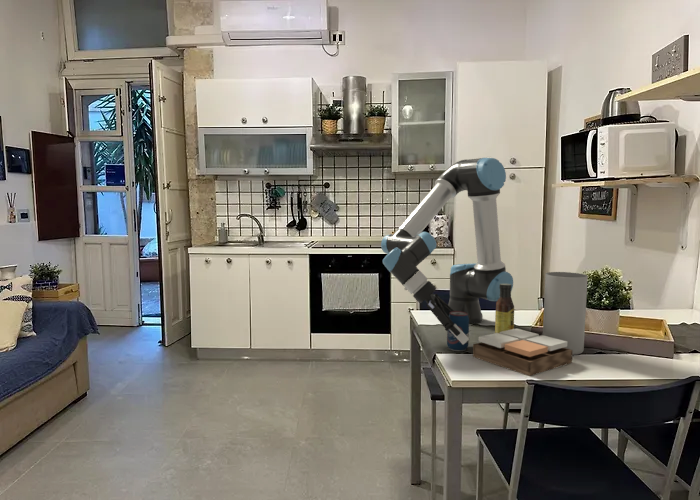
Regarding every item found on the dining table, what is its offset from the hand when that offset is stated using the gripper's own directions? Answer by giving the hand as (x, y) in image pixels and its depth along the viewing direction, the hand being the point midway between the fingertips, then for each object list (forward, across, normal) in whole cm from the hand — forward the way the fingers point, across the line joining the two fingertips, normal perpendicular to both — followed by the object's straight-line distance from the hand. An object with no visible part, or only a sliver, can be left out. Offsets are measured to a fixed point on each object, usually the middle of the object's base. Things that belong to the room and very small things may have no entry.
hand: (466, 337), depth 163 cm
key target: (+12, +13, +13) cm, 22 cm away
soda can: (+1, 0, -5) cm, 5 cm away
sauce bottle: (+12, -15, +6) cm, 20 cm away
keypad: (+15, +6, +9) cm, 18 cm away
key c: (+16, +5, +17) cm, 24 cm away
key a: (+11, -1, +12) cm, 16 cm away
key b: (+6, +7, +8) cm, 12 cm away
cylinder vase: (+25, -9, +18) cm, 32 cm away
